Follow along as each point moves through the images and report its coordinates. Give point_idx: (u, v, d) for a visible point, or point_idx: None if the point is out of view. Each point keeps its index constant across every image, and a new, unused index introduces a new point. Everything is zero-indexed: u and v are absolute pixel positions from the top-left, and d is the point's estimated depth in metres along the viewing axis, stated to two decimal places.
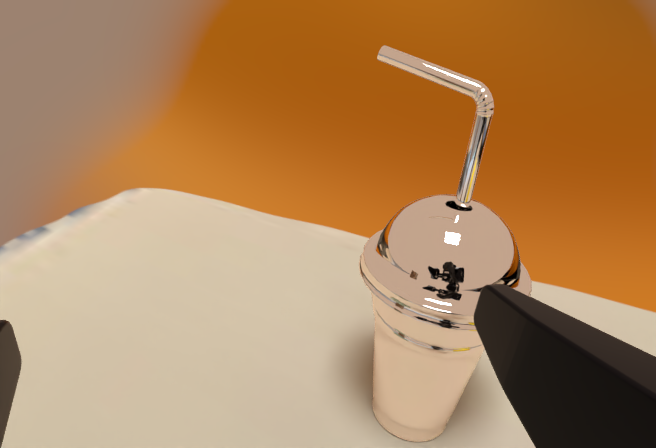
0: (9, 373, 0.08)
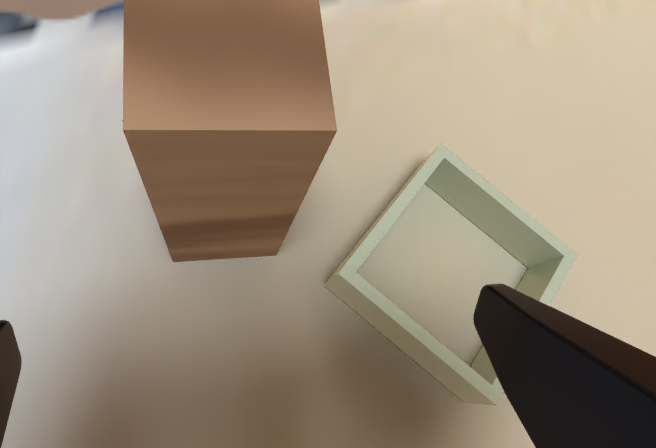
0: (9, 373, 0.08)
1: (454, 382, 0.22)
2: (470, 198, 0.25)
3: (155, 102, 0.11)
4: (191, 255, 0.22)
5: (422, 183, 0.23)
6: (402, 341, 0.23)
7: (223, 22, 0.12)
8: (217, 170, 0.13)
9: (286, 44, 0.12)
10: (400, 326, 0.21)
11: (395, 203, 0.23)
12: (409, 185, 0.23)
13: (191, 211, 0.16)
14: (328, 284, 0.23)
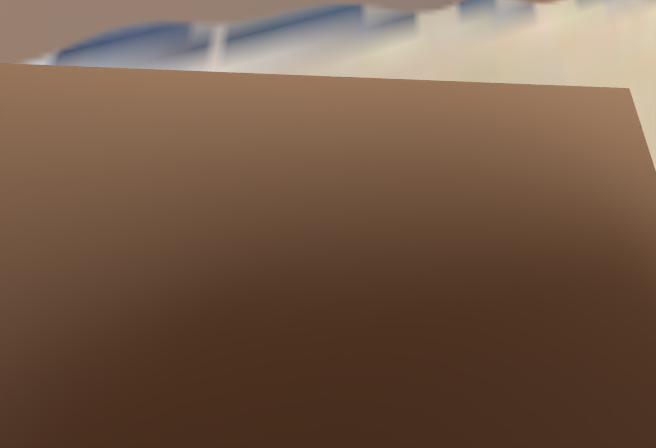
0: None
1: None
2: None
3: None
4: None
5: None
6: None
7: (362, 353, 0.03)
8: None
9: (605, 422, 0.03)
10: None
11: None
12: None
13: None
14: None
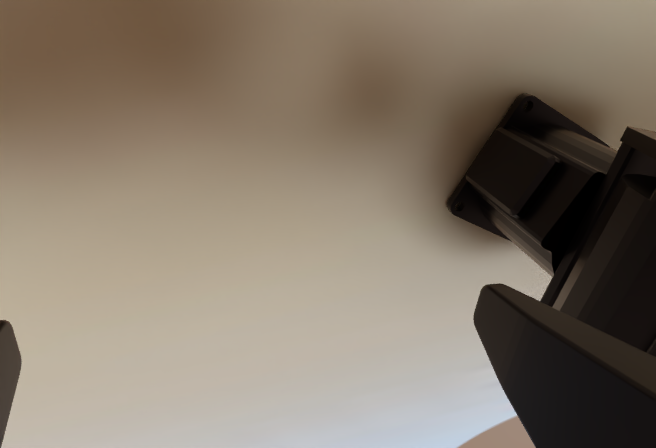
0: (9, 373, 0.08)
1: None
2: None
3: None
4: None
5: None
6: None
7: None
8: None
9: None
10: None
11: None
12: None
13: None
14: None
